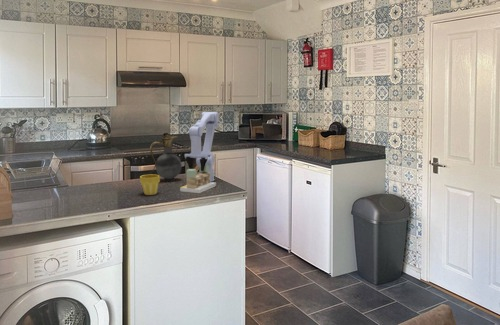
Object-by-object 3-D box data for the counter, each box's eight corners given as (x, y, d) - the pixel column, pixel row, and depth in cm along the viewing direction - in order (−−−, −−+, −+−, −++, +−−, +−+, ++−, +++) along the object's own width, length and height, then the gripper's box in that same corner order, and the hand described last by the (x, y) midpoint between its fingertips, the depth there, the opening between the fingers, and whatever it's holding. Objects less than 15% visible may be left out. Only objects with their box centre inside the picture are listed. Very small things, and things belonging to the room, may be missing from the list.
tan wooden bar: (202, 181, 252) (202, 171, 251) (210, 182, 250) (209, 172, 249) (186, 187, 235) (186, 177, 234) (194, 188, 233) (194, 178, 232)
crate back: (202, 171, 251) (203, 165, 252) (208, 172, 250) (209, 165, 250) (199, 171, 248) (200, 164, 248) (205, 171, 246) (206, 165, 246)
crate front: (190, 175, 238) (189, 168, 237) (196, 176, 237) (196, 169, 236) (186, 177, 234) (186, 170, 234) (193, 177, 233) (192, 170, 232)
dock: (198, 184, 254) (198, 180, 254) (216, 185, 250) (216, 182, 249) (180, 191, 236) (180, 187, 236) (199, 193, 231) (199, 189, 231)
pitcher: (184, 180, 264) (182, 132, 259) (153, 183, 255) (151, 133, 250) (178, 177, 274) (177, 131, 269) (149, 180, 265) (147, 132, 260)
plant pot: (139, 192, 233) (138, 174, 232) (158, 190, 237) (158, 173, 236) (141, 196, 224) (141, 178, 222) (161, 195, 228) (161, 177, 226)
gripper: (181, 147, 244) (182, 170, 246) (203, 148, 239) (204, 172, 241) (188, 145, 251) (188, 168, 253) (209, 147, 245) (210, 170, 247)
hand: (196, 170), depth 247 cm, fingers open, 7 cm apart
